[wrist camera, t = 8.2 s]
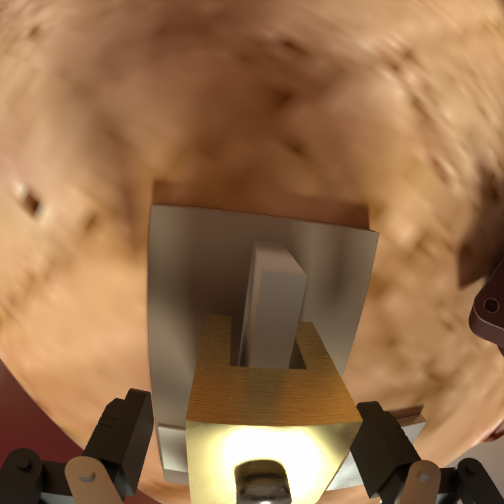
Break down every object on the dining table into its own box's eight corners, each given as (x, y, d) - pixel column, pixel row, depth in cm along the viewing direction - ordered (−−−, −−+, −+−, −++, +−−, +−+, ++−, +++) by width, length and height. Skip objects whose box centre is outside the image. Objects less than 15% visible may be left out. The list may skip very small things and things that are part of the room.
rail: (157, 203, 12) (53, 232, 5) (370, 229, 13) (491, 279, 5) (166, 472, 17) (152, 553, 9) (292, 479, 17) (307, 558, 10)
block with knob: (206, 314, 12) (181, 444, 5) (312, 321, 12) (373, 441, 5) (202, 416, 13) (190, 529, 6) (287, 420, 13) (311, 529, 7)
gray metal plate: (355, 424, 16) (359, 434, 15) (420, 413, 17) (426, 421, 16) (323, 482, 18) (326, 490, 17) (382, 471, 18) (386, 479, 17)
